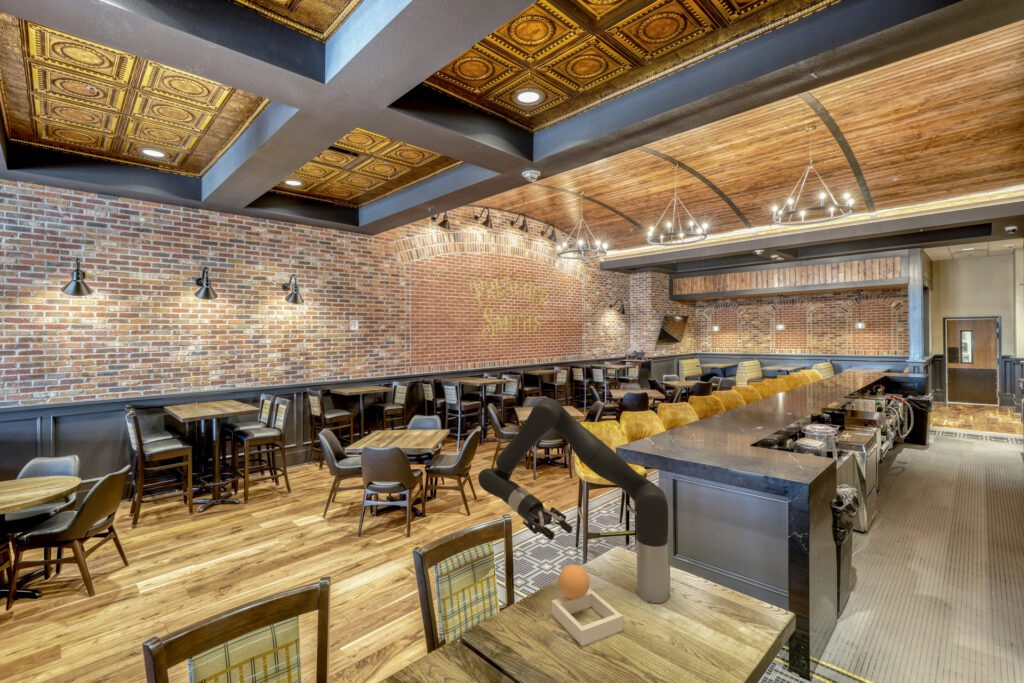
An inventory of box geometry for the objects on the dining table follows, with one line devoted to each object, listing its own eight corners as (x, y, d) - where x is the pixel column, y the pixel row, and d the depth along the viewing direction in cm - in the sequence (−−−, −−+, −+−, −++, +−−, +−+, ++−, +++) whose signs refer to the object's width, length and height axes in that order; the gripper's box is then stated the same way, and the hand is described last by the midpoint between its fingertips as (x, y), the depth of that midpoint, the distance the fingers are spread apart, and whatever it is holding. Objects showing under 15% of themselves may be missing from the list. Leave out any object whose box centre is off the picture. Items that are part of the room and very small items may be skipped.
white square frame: (589, 601, 136) (589, 588, 136) (622, 630, 123) (622, 615, 123) (551, 614, 130) (551, 600, 130) (582, 646, 117) (581, 631, 117)
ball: (577, 585, 138) (577, 556, 138) (595, 600, 130) (595, 569, 130) (552, 593, 134) (552, 563, 134) (569, 609, 126) (569, 577, 126)
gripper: (512, 497, 140) (550, 528, 129) (542, 490, 150) (580, 517, 139) (506, 519, 141) (543, 551, 130) (536, 510, 151) (573, 539, 140)
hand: (562, 533), depth 134 cm, fingers open, 8 cm apart
